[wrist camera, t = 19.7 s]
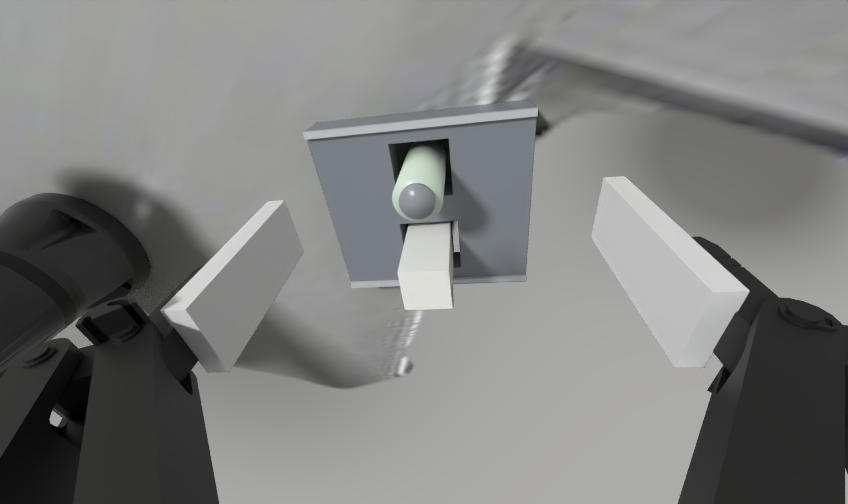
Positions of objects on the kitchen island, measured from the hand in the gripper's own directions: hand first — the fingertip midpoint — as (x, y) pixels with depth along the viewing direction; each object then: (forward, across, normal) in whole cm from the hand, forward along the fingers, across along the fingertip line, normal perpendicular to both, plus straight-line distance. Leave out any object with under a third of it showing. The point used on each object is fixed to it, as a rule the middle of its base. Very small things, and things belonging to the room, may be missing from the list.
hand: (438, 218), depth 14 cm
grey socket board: (+20, -2, -9) cm, 22 cm away
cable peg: (+20, -2, -4) cm, 21 cm away
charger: (+20, -2, -13) cm, 24 cm away
